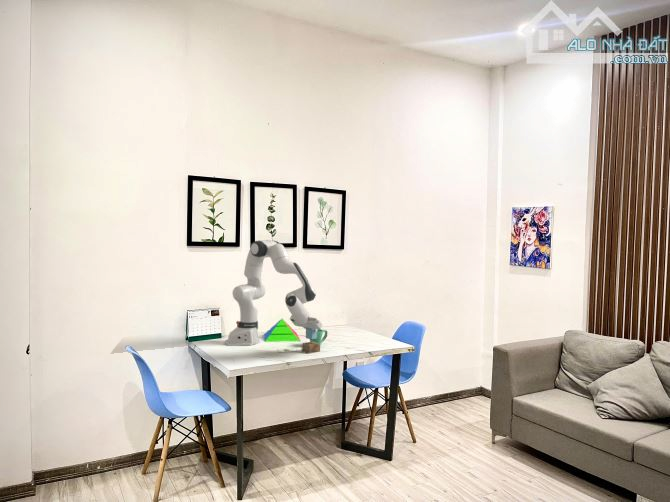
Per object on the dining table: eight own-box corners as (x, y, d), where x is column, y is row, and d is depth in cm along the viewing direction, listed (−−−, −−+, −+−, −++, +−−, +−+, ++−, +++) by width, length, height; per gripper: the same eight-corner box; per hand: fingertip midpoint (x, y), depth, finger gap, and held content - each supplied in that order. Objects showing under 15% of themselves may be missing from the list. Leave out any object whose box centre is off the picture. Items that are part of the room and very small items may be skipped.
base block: (309, 353, 290) (309, 345, 290) (302, 351, 297) (302, 343, 296) (320, 351, 295) (320, 344, 295) (312, 349, 302) (312, 341, 301)
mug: (314, 348, 304) (314, 332, 304) (304, 345, 311) (305, 329, 311) (331, 344, 314) (331, 329, 313) (321, 342, 321) (322, 327, 321)
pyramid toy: (263, 334, 342) (263, 315, 342) (297, 334, 347) (298, 314, 346) (264, 343, 318) (264, 321, 317) (301, 342, 322) (301, 321, 322)
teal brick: (312, 339, 292) (312, 324, 292) (305, 338, 295) (306, 323, 295) (317, 338, 296) (317, 323, 296) (310, 336, 299) (310, 322, 299)
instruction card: (280, 352, 291) (280, 352, 291) (276, 350, 297) (276, 349, 297) (295, 351, 295) (295, 350, 295) (291, 348, 301) (291, 348, 301)
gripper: (318, 314, 283) (327, 328, 292) (292, 310, 295) (301, 324, 303) (314, 323, 280) (323, 336, 288) (287, 318, 291) (297, 332, 300)
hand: (312, 330), depth 296 cm, fingers closed on teal brick, 5 cm apart
